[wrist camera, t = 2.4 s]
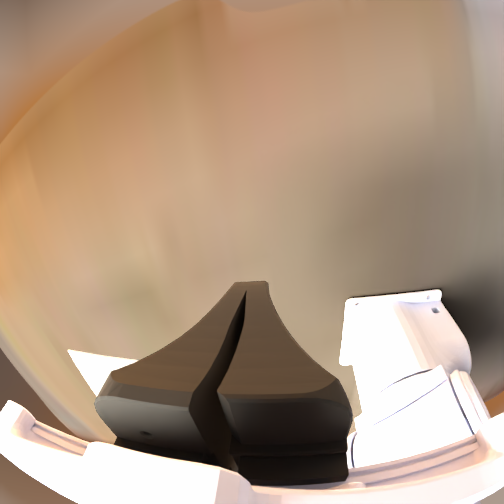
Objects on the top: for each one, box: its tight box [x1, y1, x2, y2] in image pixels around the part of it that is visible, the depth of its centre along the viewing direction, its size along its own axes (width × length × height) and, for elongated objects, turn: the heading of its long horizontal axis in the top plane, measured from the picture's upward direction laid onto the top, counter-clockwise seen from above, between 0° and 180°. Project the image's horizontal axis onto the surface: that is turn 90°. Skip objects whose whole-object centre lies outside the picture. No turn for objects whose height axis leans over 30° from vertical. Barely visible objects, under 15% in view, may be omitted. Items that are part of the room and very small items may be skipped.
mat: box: [68, 349, 139, 396], centre depth 33 cm, size 14×16×1 cm
